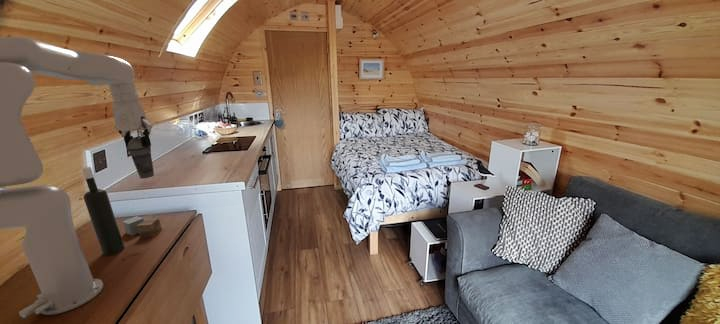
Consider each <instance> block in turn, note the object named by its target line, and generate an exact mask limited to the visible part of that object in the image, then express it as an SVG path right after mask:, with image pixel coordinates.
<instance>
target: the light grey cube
mask: <svg viewBox="0 0 720 324" xmlns="http://www.w3.org/2000/svg"><path fill="white" fill-rule="evenodd" d="M144 220H145V219H144V217H141V216H133V217H131V218H128V219H126V220H122V225H123V227H124V231H125V233H126V234H127V235H129V236H135V235H137V233H138V234H139V232H138V228H137V225H138V224H140V223H141V222H143V221H144Z"/></svg>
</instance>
